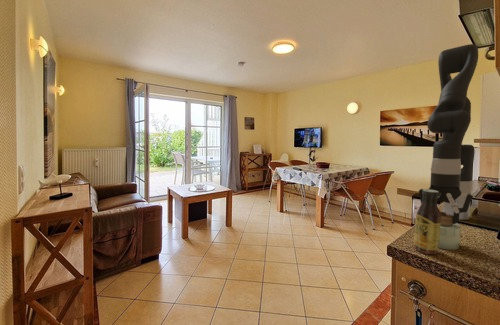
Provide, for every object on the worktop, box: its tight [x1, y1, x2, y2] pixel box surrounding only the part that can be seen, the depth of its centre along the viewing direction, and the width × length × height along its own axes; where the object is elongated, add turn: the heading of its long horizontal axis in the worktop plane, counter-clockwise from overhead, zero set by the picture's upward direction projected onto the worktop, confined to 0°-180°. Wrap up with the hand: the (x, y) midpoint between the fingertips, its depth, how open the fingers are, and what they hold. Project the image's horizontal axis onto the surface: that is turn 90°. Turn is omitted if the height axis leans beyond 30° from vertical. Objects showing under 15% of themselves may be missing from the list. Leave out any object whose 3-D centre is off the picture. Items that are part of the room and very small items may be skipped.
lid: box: [440, 211, 453, 226], centre depth 78 cm, size 6×6×4 cm
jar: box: [438, 223, 461, 251], centre depth 78 cm, size 9×9×7 cm
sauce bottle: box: [413, 188, 442, 255], centre depth 73 cm, size 7×6×20 cm
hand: (442, 221), depth 78 cm, fingers closed on lid, 5 cm apart
